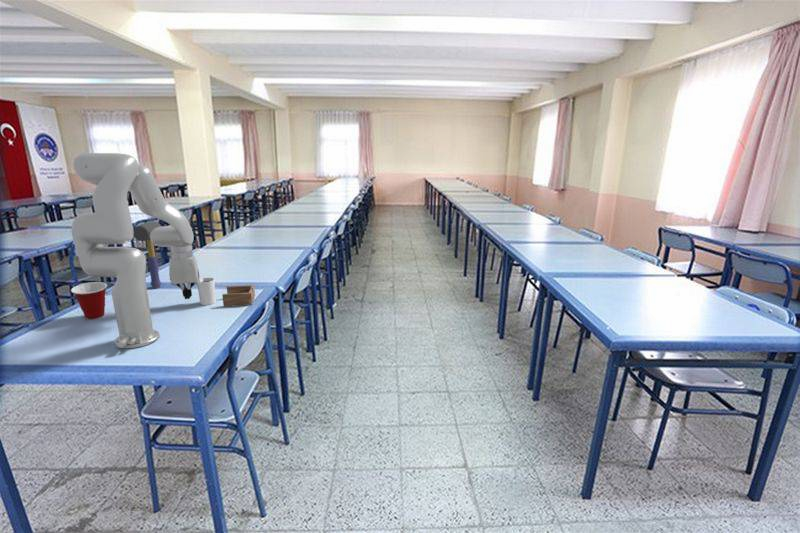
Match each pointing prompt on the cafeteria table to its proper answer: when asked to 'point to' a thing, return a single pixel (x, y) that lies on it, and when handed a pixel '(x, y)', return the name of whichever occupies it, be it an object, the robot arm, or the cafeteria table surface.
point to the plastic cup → (91, 298)
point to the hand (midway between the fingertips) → (187, 297)
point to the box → (239, 295)
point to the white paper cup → (206, 291)
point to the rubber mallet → (149, 249)
